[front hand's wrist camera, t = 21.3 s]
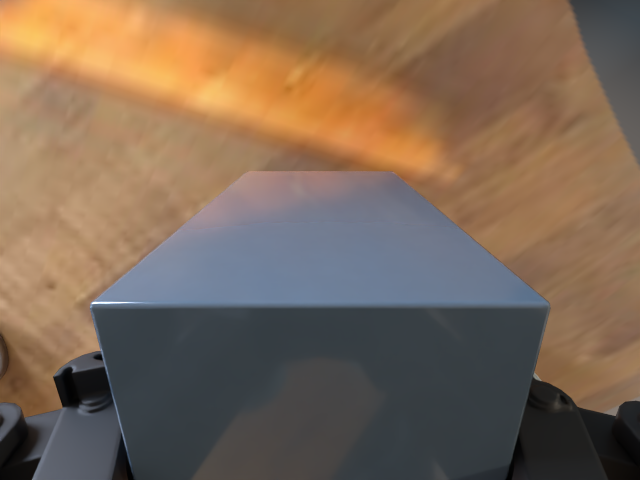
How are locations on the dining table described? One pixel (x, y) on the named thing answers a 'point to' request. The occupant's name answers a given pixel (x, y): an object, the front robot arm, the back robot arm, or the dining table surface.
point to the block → (320, 339)
